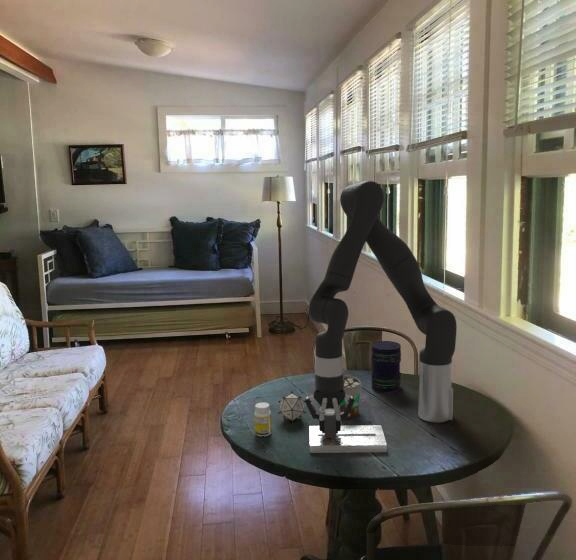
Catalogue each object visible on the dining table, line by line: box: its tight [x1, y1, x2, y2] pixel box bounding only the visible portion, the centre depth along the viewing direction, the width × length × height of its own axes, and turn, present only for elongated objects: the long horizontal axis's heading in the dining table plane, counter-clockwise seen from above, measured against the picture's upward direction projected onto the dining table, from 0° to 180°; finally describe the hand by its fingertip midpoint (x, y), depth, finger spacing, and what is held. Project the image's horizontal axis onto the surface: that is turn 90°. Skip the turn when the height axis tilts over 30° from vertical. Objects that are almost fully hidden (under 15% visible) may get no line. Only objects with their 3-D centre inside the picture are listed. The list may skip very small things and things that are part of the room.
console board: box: [308, 424, 388, 454], centre depth 156 cm, size 20×12×2 cm, turn 88°
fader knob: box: [324, 408, 336, 438], centre depth 155 cm, size 3×5×6 cm, turn 178°
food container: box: [339, 374, 363, 420], centre depth 174 cm, size 12×6×10 cm, turn 168°
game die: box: [277, 390, 307, 424], centre depth 171 cm, size 9×8×10 cm
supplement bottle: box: [253, 402, 273, 437], centre depth 162 cm, size 5×5×8 cm
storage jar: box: [370, 340, 402, 394], centre depth 194 cm, size 10×10×15 cm
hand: (329, 431), depth 156 cm, fingers closed on fader knob, 3 cm apart
